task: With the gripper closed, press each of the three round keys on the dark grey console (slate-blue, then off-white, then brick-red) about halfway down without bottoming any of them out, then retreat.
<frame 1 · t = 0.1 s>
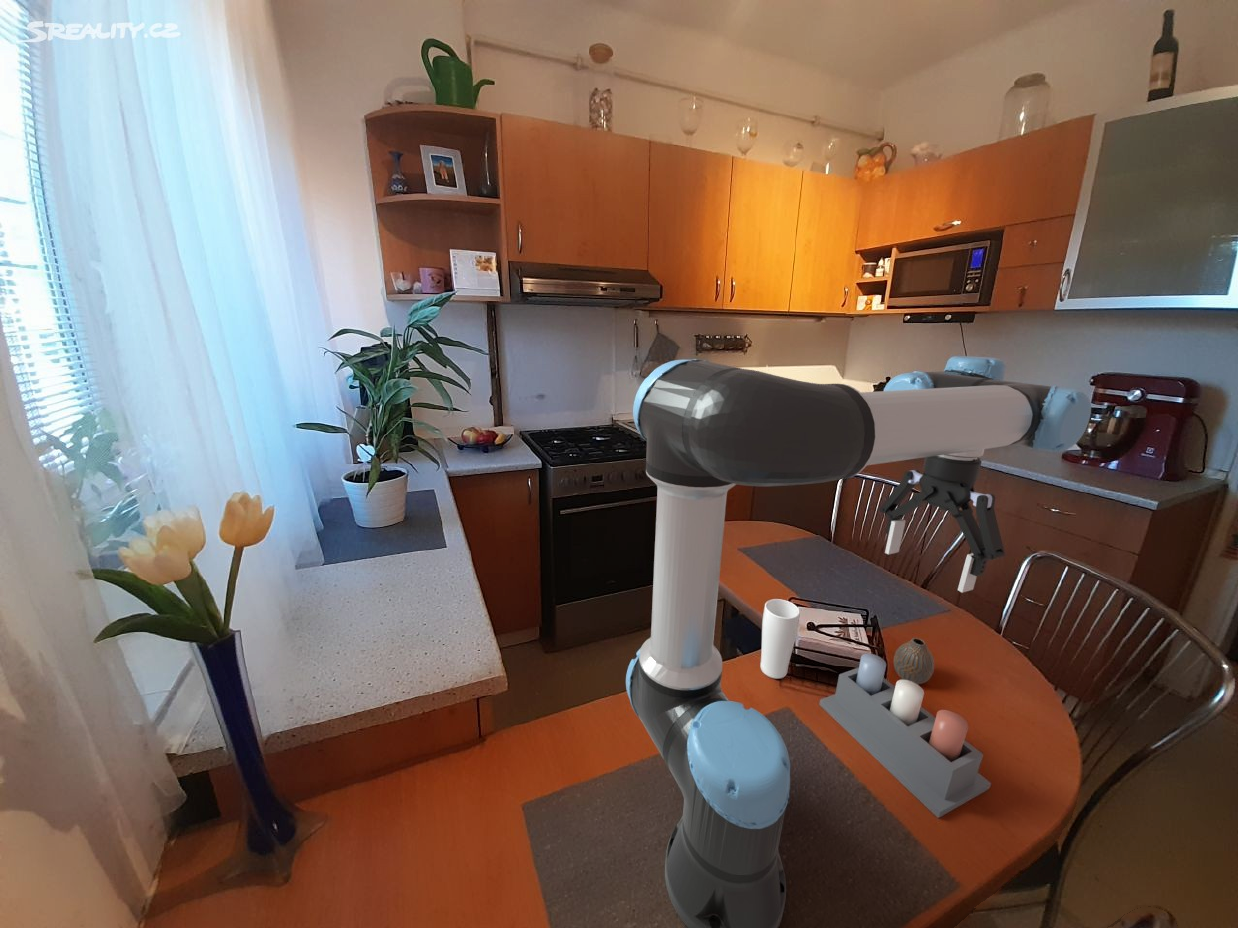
hand: (925, 570, 84), 28 cm above the table, fingers open, 13 cm apart
drinking glass: (773, 671, 99), on the table
red key: (947, 738, 74), point 8 cm above the table, slide at 0.0 cm
blue key: (870, 677, 86), point 8 cm above the table, slide at 0.0 cm
vase: (909, 678, 98), on the table
white key: (905, 705, 80), point 8 cm above the table, slide at 0.0 cm
console: (896, 742, 83), on the table
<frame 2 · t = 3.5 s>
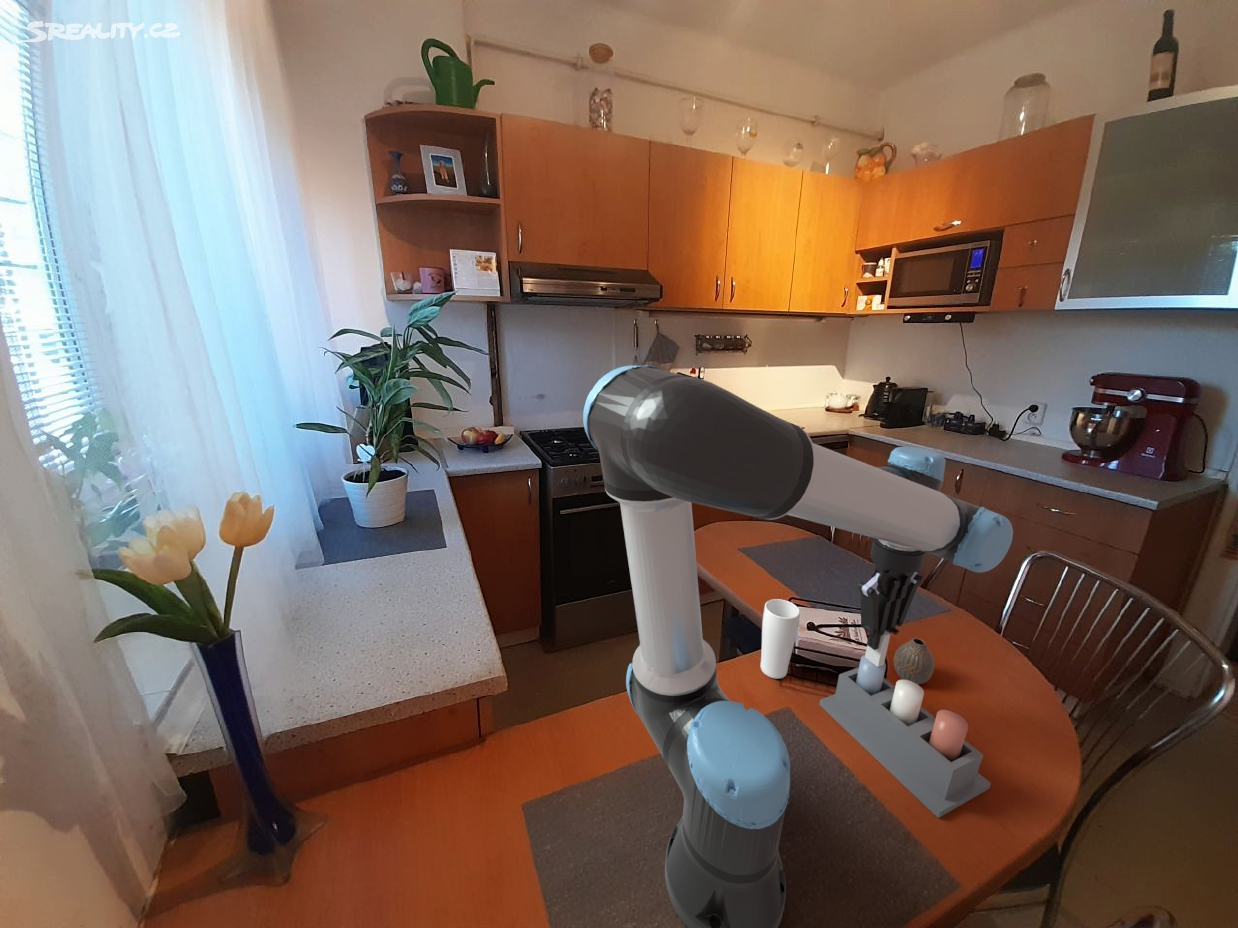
hand: (874, 660, 85), 12 cm above the table, fingers closed
blue key: (869, 678, 86), point 8 cm above the table, slide at 0.3 cm, touching gripper
everything else where it was.
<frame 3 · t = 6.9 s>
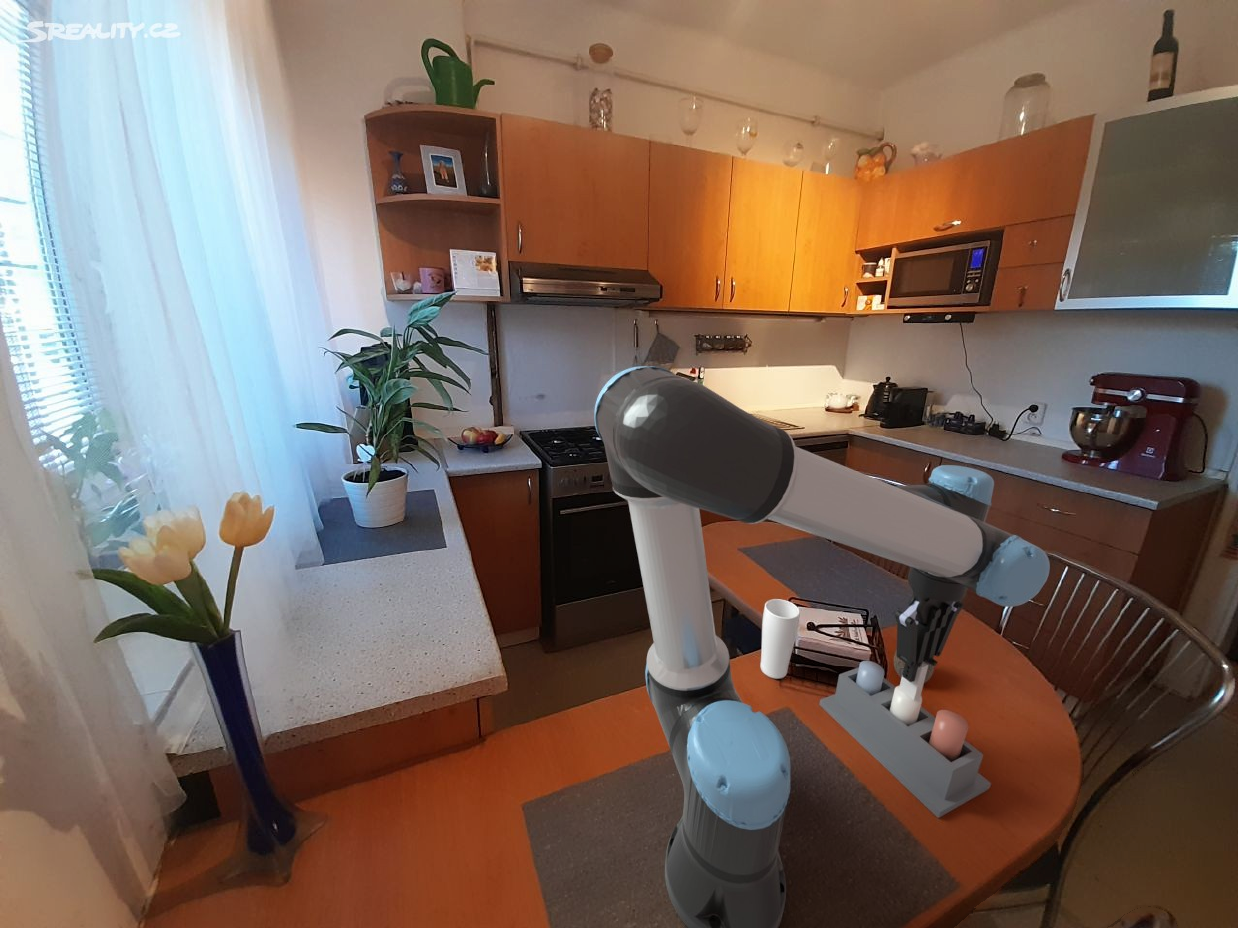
hand: (909, 692, 79), 11 cm above the table, fingers closed
blue key: (868, 684, 87), point 6 cm above the table, slide at 1.6 cm
white key: (904, 711, 81), point 7 cm above the table, slide at 1.2 cm, touching gripper
everything else where it was.
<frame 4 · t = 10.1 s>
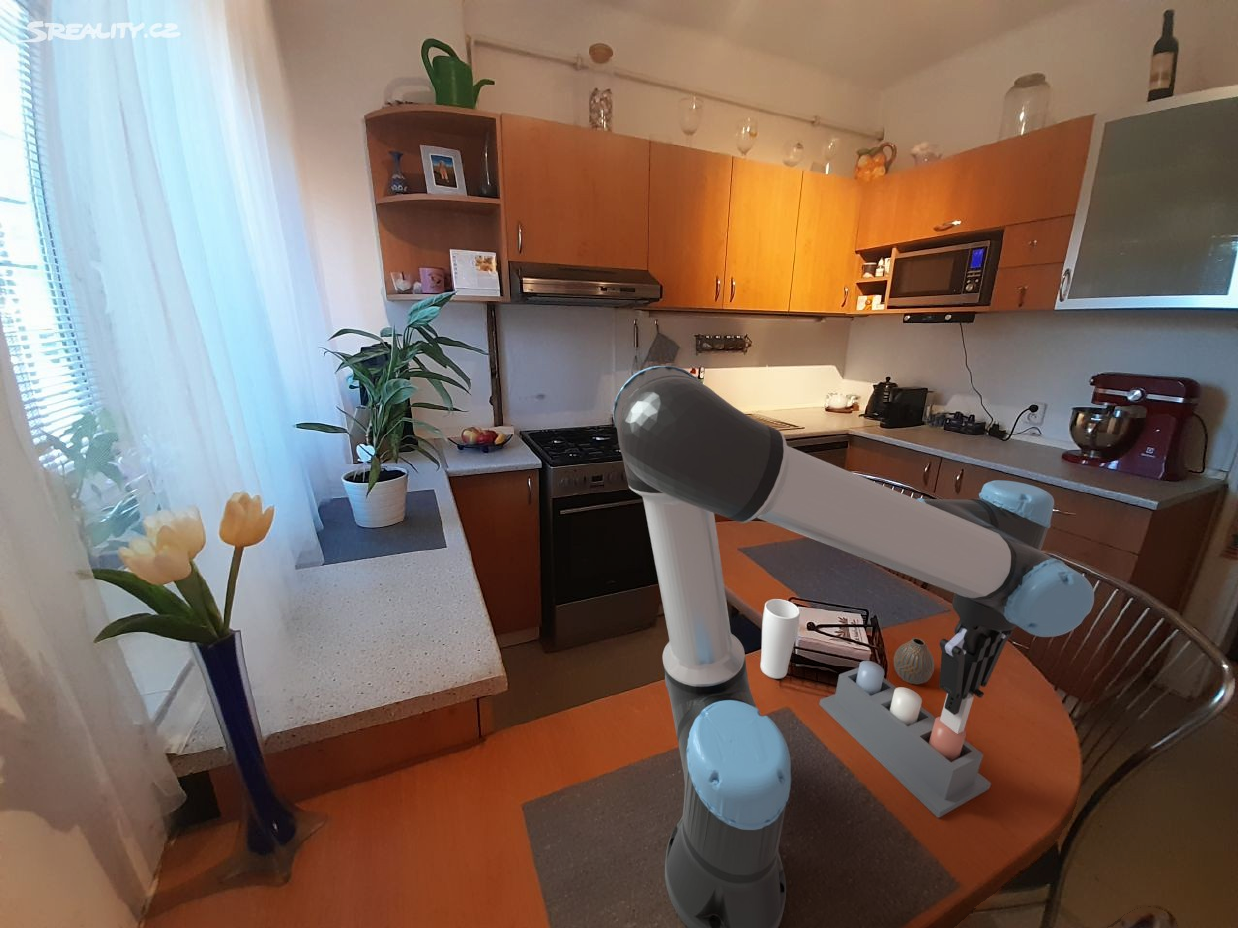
hand: (951, 725, 73), 11 cm above the table, fingers closed
red key: (945, 744, 74), point 7 cm above the table, slide at 1.3 cm
white key: (903, 712, 81), point 6 cm above the table, slide at 1.6 cm
everything else where it was.
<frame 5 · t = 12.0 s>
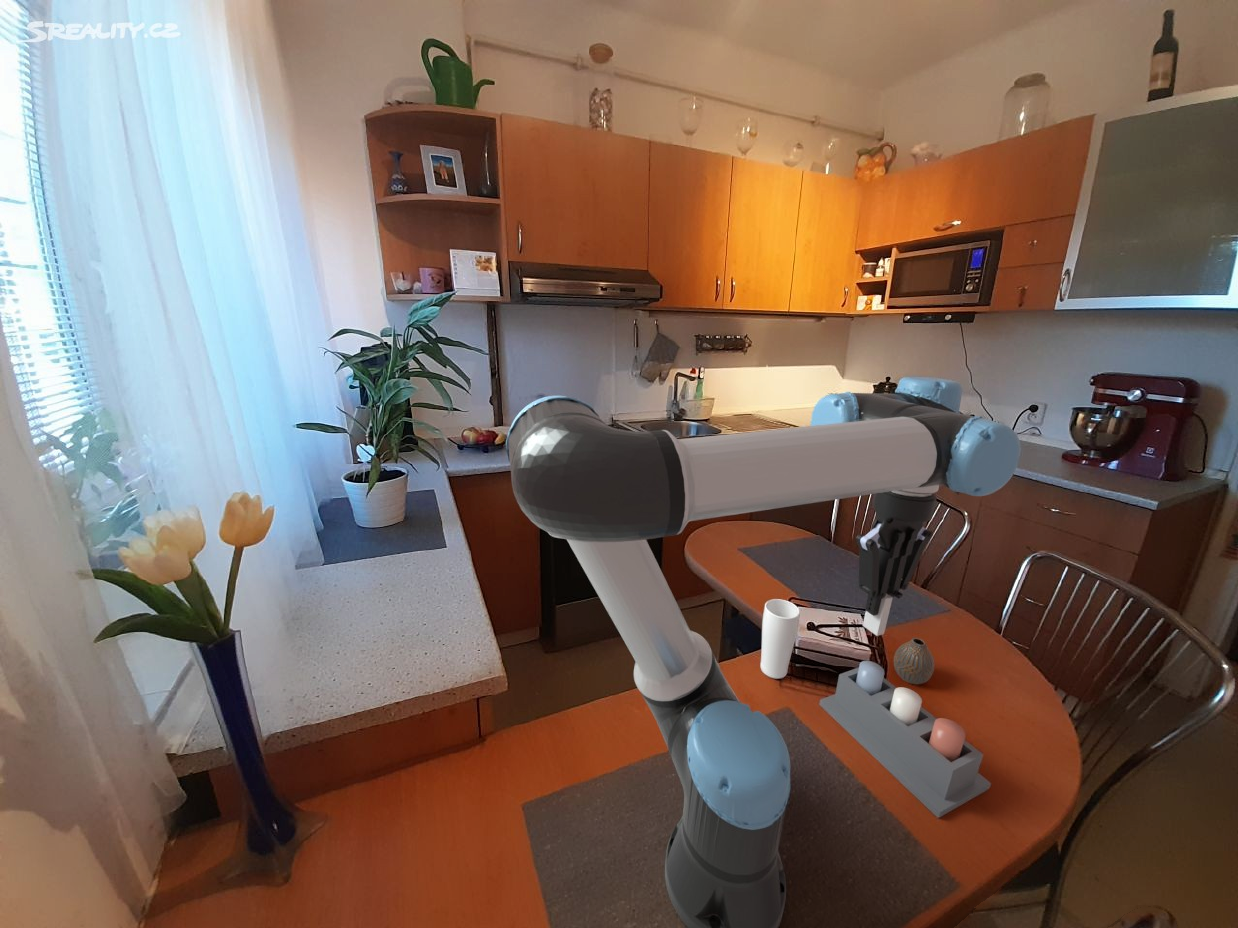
hand: (873, 629, 75), 23 cm above the table, fingers closed
red key: (944, 746, 75), point 6 cm above the table, slide at 1.6 cm
everything else where it was.
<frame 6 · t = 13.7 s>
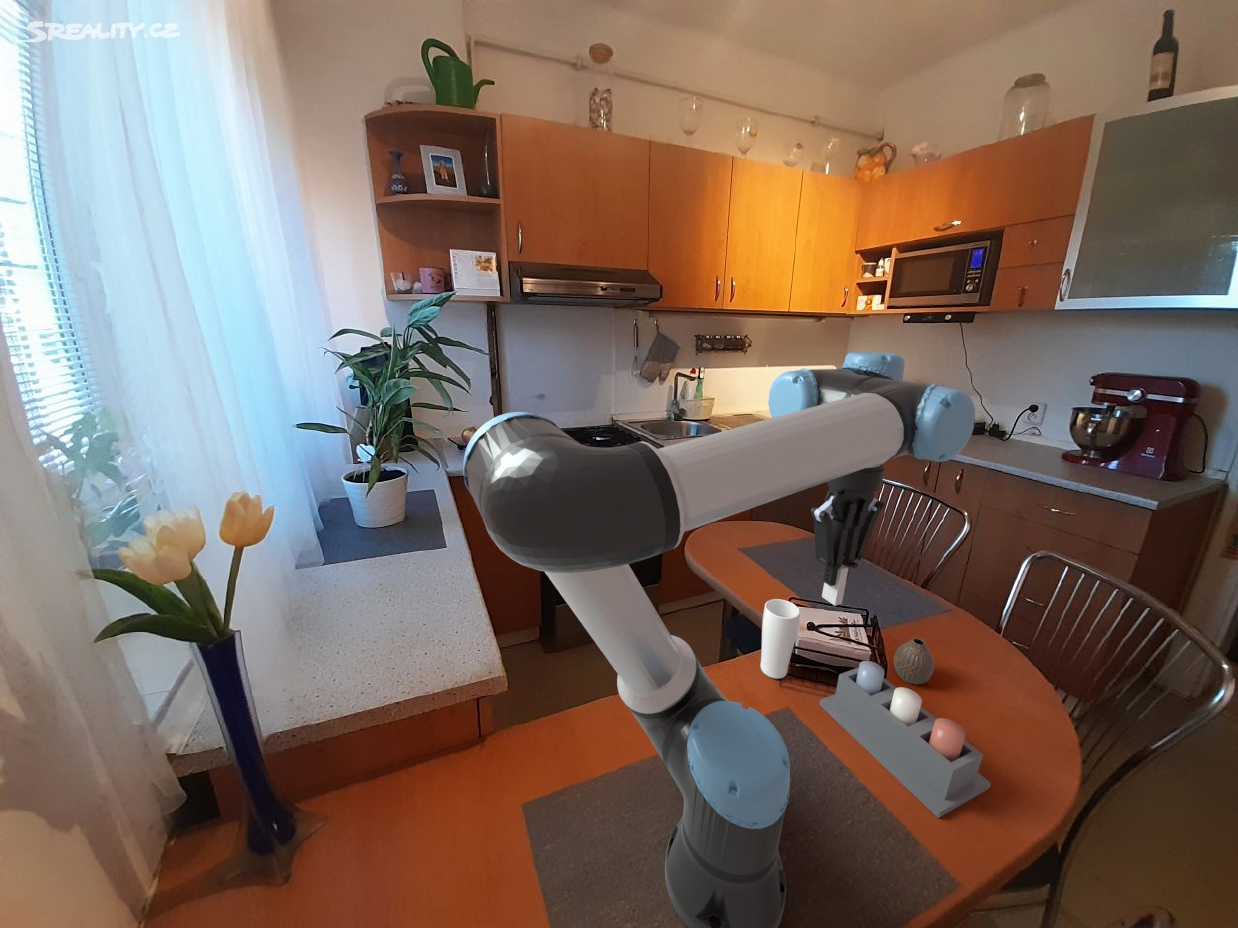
hand: (831, 600, 77), 26 cm above the table, fingers closed
nothing on the table moved.
at the end: blue key slide at 1.6 cm; white key slide at 1.6 cm; red key slide at 1.6 cm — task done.
